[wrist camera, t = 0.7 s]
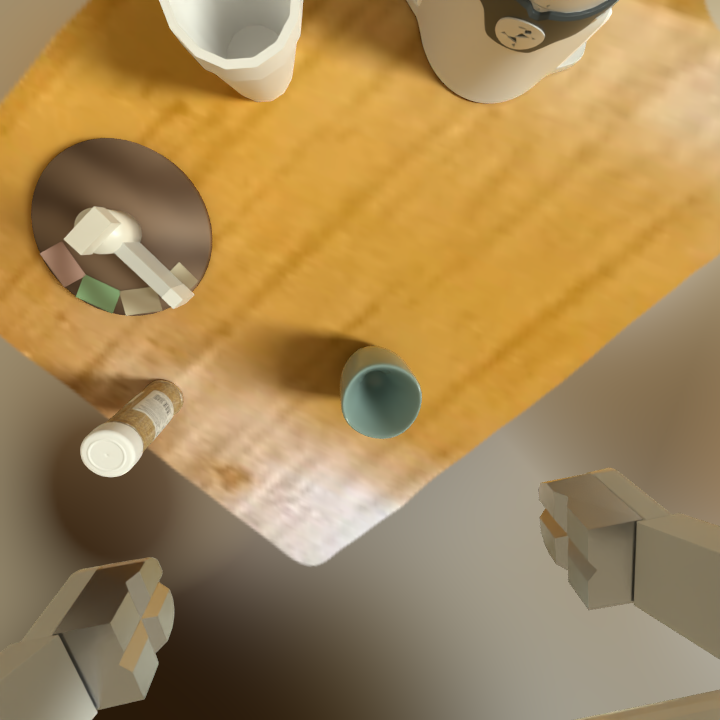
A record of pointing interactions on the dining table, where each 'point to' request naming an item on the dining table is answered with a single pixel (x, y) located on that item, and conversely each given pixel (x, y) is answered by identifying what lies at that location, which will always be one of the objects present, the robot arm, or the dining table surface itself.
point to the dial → (128, 194)
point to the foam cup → (240, 40)
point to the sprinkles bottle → (131, 430)
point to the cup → (379, 393)
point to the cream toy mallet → (125, 250)
